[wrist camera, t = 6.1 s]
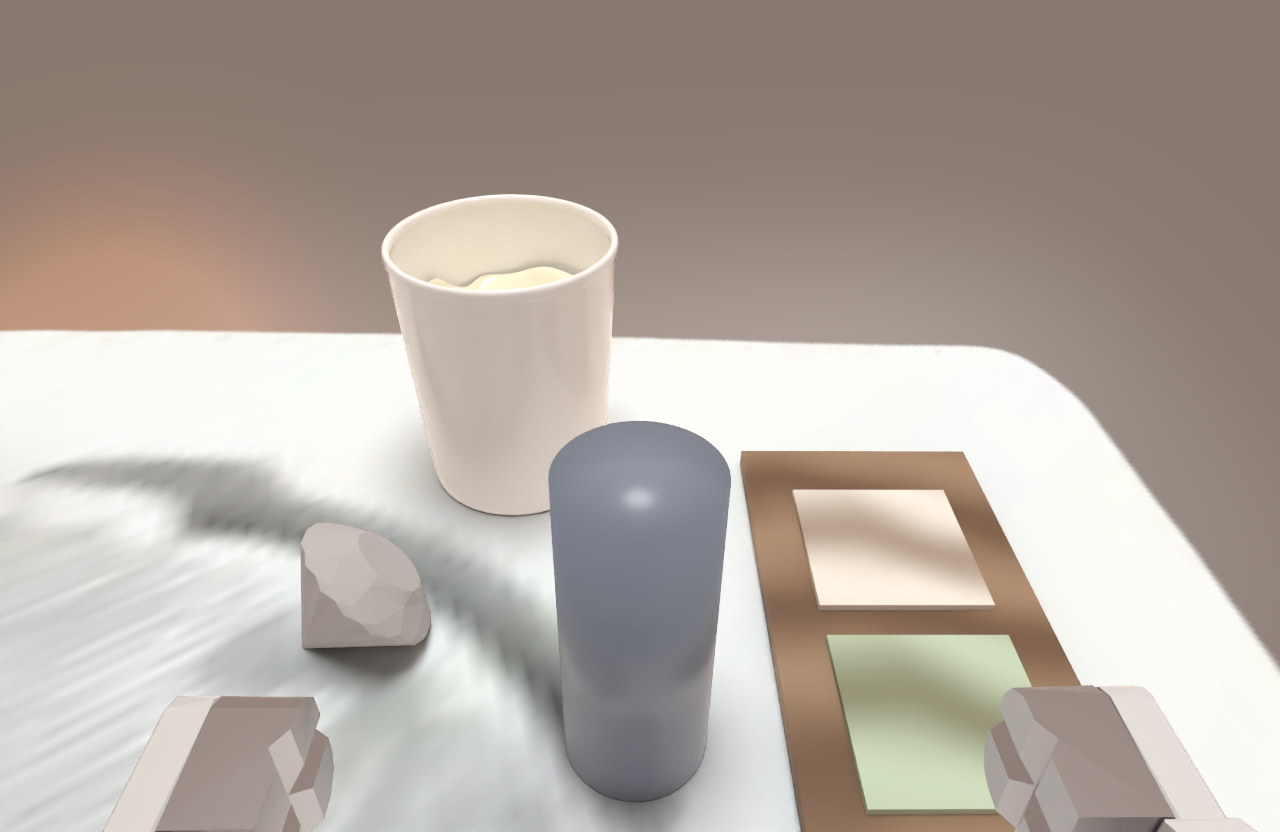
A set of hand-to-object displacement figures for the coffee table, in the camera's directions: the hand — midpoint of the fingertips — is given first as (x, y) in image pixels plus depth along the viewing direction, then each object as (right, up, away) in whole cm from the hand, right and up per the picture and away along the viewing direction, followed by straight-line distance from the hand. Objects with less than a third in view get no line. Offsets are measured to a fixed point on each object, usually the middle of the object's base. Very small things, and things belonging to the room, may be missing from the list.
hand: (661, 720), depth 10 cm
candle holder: (-6, +1, +33) cm, 34 cm away
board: (+10, -5, +24) cm, 27 cm away
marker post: (0, -8, +20) cm, 22 cm away
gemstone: (-11, -5, +24) cm, 27 cm away
